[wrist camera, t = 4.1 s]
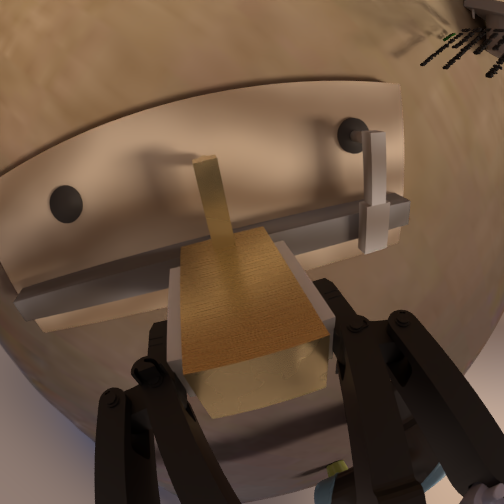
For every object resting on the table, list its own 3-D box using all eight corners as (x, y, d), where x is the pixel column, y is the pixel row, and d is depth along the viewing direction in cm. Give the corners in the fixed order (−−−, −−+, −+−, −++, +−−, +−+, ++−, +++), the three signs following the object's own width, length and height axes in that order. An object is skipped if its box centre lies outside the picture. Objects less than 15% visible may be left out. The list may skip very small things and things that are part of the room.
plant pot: (343, 462, 71) (351, 480, 64) (319, 470, 70) (327, 489, 62) (350, 455, 67) (359, 474, 59) (324, 464, 65) (332, 485, 58)
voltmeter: (477, -13, 10) (532, -13, 1) (510, 57, 15) (562, 68, 7) (380, 43, 15) (479, 33, 6) (436, 147, 20) (518, 180, 12)
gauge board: (389, 235, 24) (419, 258, 20) (48, 322, 20) (34, 355, 16) (388, 84, 17) (427, 85, 13) (-17, 189, 13) (-49, 210, 9)
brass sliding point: (264, 262, 20) (325, 387, 10) (195, 279, 19) (212, 418, 10) (243, 143, 15) (330, 195, 6) (160, 163, 15) (117, 247, 6)
